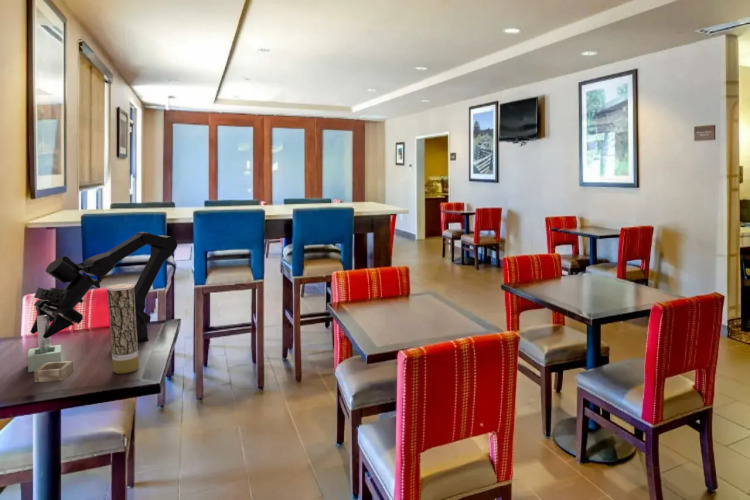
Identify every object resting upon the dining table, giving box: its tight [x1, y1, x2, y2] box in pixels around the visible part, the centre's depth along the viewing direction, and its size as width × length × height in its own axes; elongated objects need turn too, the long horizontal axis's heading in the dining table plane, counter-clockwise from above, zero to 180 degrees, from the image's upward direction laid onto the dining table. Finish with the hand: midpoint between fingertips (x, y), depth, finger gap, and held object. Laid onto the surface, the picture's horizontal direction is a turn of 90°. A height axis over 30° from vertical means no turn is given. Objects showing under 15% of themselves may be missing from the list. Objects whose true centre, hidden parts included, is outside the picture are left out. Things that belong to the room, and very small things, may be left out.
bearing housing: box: [33, 360, 74, 383], centre depth 134 cm, size 7×7×3 cm
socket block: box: [26, 344, 63, 373], centre depth 142 cm, size 8×8×4 cm
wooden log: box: [106, 283, 140, 375], centre depth 137 cm, size 7×7×25 cm
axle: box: [36, 315, 52, 354], centre depth 141 cm, size 3×3×14 cm
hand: (37, 335), depth 140 cm, fingers open, 8 cm apart
